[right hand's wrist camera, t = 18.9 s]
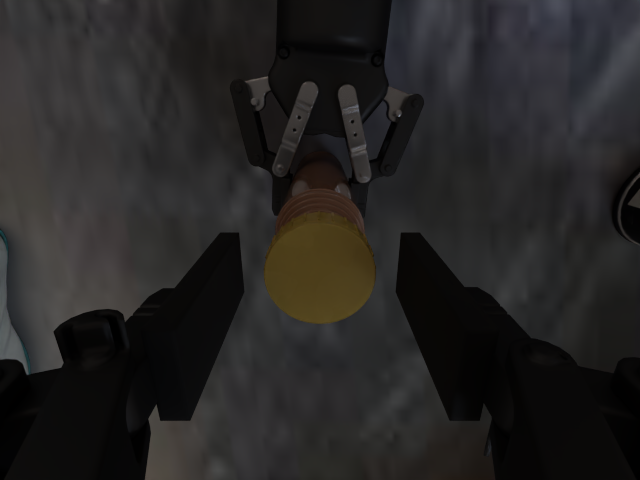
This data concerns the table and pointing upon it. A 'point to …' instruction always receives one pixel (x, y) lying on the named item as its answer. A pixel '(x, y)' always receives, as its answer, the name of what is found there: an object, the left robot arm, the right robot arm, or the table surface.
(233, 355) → the table surface
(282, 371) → the table surface
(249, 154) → the left robot arm
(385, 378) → the table surface
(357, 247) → the cap
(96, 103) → the table surface
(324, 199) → the bottle
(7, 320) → the ballet flat
